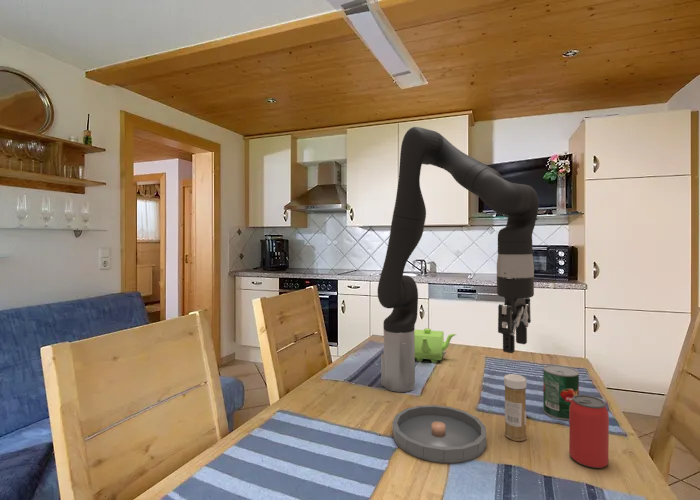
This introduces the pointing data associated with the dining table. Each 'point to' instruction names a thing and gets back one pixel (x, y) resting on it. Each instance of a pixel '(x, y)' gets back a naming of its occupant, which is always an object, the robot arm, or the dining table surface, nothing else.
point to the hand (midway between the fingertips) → (515, 347)
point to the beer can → (589, 431)
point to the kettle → (430, 344)
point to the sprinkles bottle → (515, 407)
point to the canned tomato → (559, 390)
